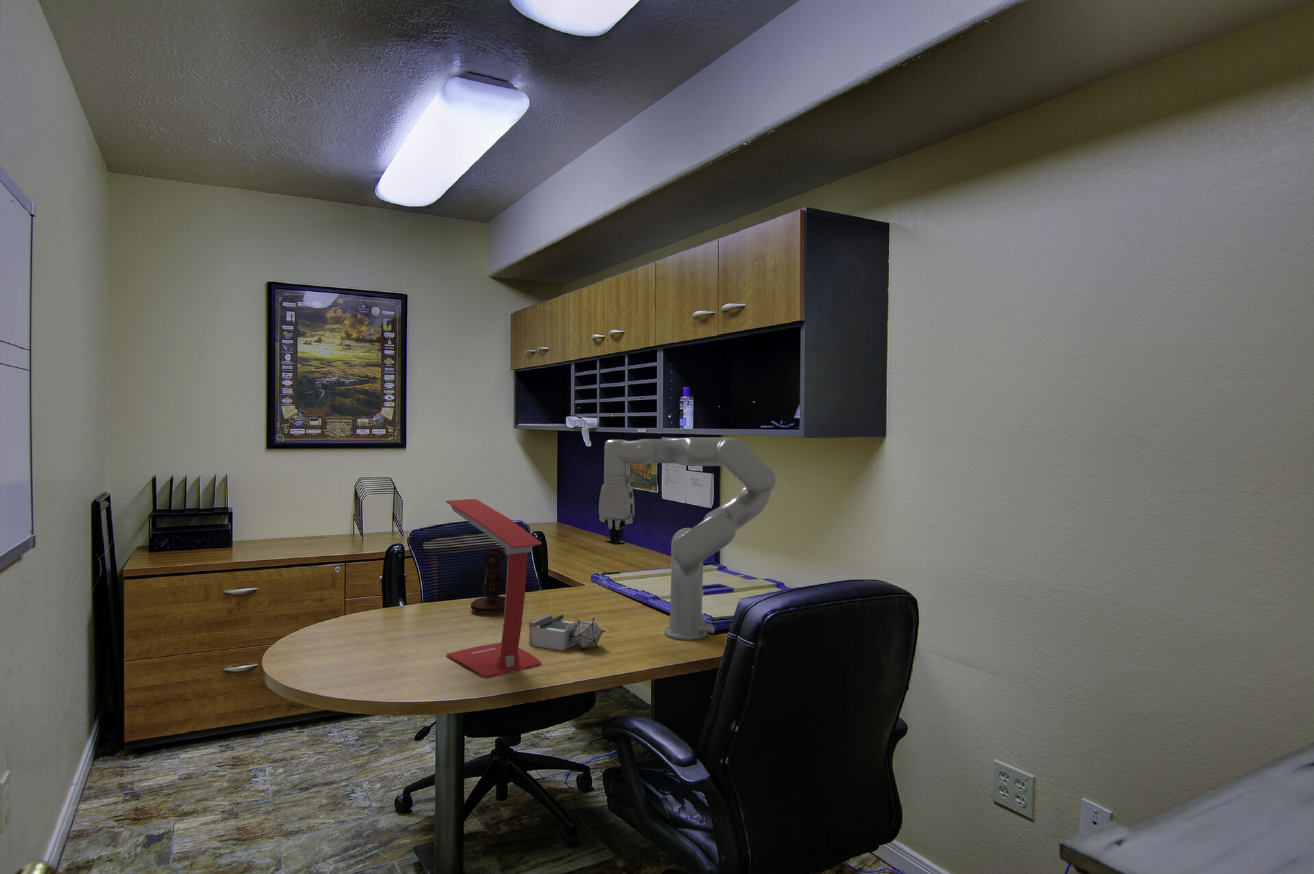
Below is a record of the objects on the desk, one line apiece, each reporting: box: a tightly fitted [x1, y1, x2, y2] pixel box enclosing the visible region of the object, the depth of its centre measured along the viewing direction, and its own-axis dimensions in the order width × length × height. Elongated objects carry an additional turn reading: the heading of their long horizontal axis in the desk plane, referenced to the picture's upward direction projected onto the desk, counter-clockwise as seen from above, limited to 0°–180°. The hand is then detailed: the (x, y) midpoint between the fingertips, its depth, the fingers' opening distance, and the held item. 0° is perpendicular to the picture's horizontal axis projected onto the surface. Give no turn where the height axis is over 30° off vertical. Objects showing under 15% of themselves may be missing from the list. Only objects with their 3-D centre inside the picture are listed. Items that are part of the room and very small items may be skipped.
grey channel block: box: [540, 614, 579, 645], centre depth 200 cm, size 8×12×5 cm
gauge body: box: [528, 613, 578, 651], centre depth 200 cm, size 11×10×6 cm
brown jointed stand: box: [470, 547, 506, 615], centre depth 233 cm, size 15×15×20 cm
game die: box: [571, 617, 606, 652], centre depth 197 cm, size 9×8×10 cm
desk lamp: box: [445, 498, 543, 678], centre depth 187 cm, size 18×38×40 cm, turn 40°
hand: (615, 542), depth 211 cm, fingers closed
